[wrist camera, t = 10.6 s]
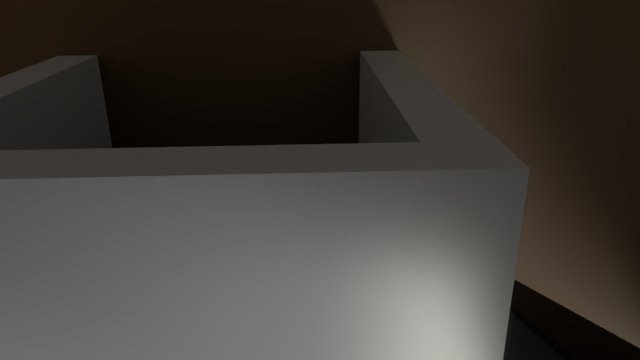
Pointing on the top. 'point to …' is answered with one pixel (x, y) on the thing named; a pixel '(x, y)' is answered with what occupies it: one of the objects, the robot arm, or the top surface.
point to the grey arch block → (254, 232)
